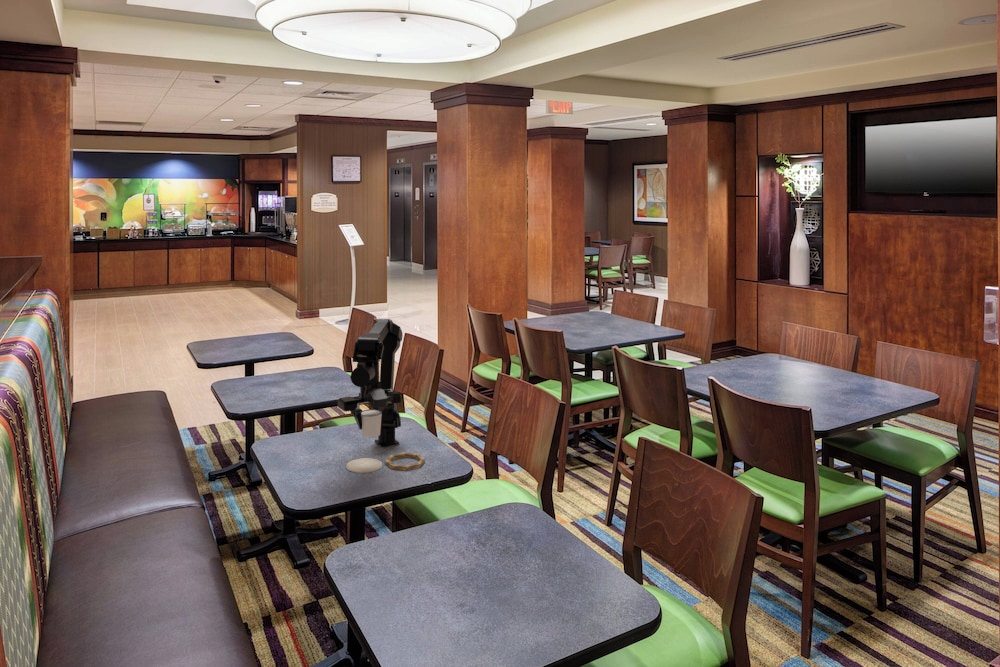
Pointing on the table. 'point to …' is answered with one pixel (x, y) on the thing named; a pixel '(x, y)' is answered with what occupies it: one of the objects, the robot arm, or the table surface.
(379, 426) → the shot glass
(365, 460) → the coaster mat
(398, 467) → the oak collar
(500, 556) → the table surface
